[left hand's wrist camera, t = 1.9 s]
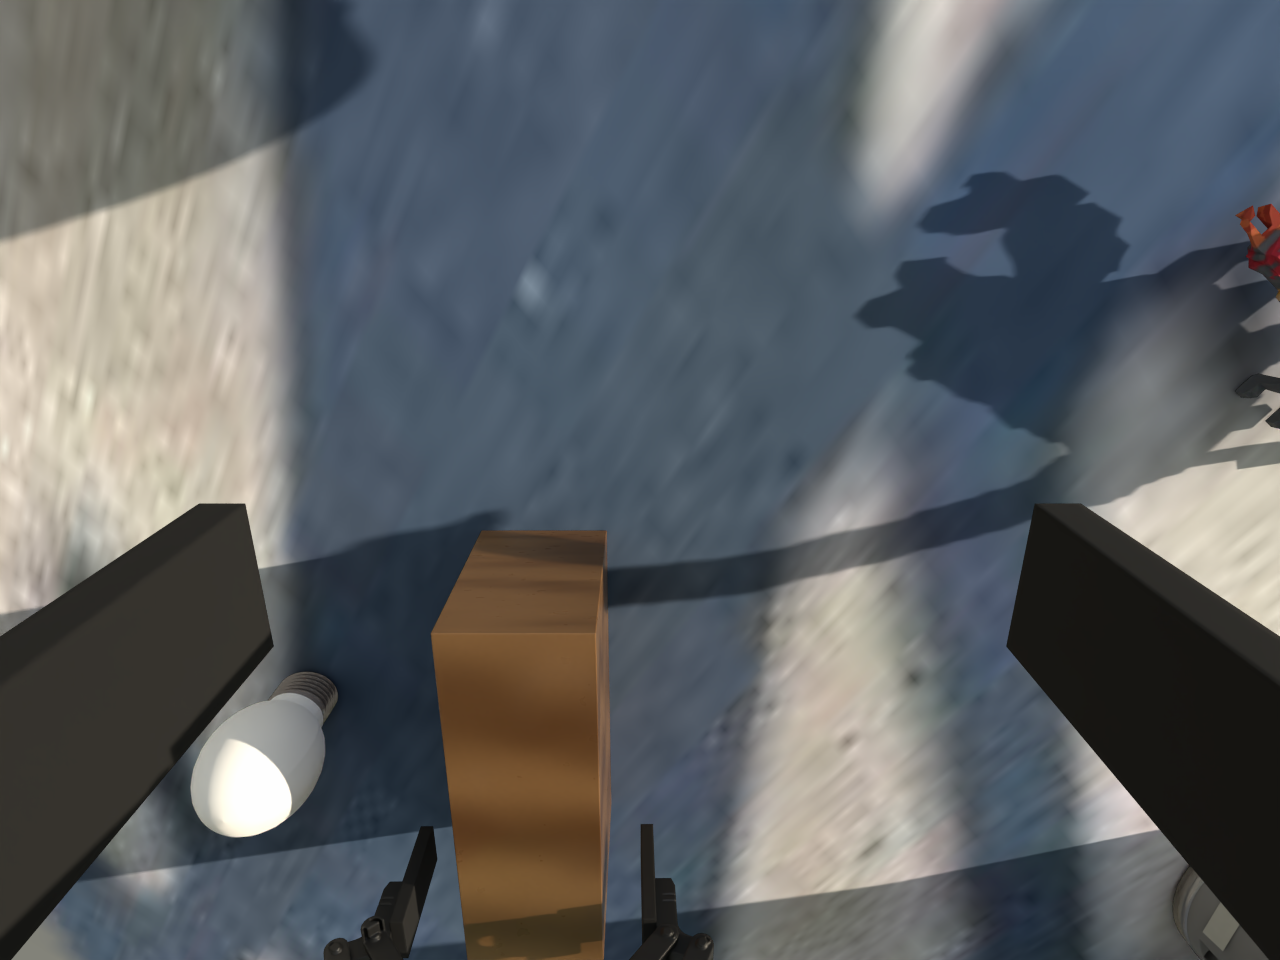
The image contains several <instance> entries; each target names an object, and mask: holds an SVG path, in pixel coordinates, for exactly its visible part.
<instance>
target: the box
mask: <svg viewBox="0 0 1280 960" xmlns="http://www.w3.org/2000/svg"><path fill="white" fill-rule="evenodd" d="M431 640H432V649H433V658H434V667H435V676H436V685H437V694H438V703H439V711H440V720H441V729H442V738H443V747H444V756H445V765H446V774H447V783H448V791H449V800H450V809H451V818H452V827H453V836H454V845H455V854H456V862H457V871H458V880H459V889H460V898H461V907H462V916H463V925H464V933H465V942H466V951H467V960H603V959H604V941H605V920H606V900H607V879H608V858H609V837H610V817H611V764H610V704H609V644H608V583H607V531H481V533H480V535H479V537H478V539H477V541H476V543H475V545H474V547H473V549H472V551H471V553H470V555H469V557H468V559H467V561H466V563H465V565H464V567H463V569H462V571H461V573H460V575H459V577H458V579H457V581H456V583H455V586H454V588H453V590H452V592H451V594H450V596H449V598H448V600H447V602H446V604H445V606H444V608H443V610H442V612H441V614H440V616H439V618H438V620H437V622H436V624H435V626H434V628H433V630H432V632H431Z"/></svg>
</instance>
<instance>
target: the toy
mask: <svg viewBox="0 0 1280 960" xmlns="http://www.w3.org/2000/svg"><path fill="white" fill-rule="evenodd" d="M1235 216H1237V217H1239V218H1240V219H1242V220H1241V223H1240V225H1241V226H1242V227H1243V229H1244V230H1245V231H1246V233H1247V234H1248V236H1249V239H1250V242H1251V245H1250V246H1249V247H1248V254H1247V255H1246V257H1248V258H1249V268H1250V269H1253V270H1255V271H1257V272H1259V273H1261V274H1263V275H1264V276H1265V277H1266V278H1267V279H1268V280H1269V281H1270V282H1271V283H1272V285H1273V286H1274V287H1275V288H1276V289H1277V290H1278V291H1279V292H1278V294H1277V296H1276V298H1277V299H1278V301H1279V302H1280V213H1279V212H1278V211H1277V210H1276V209H1275V208H1274V206H1273V205H1272V204H1269V205H1265V206H1262V207H1258V212H1257V217H1258V218H1259V219H1260V220H1261V222H1262V223H1263V224H1264V225H1265V226H1266V227H1267V228H1268V229H1267V230H1266V231H1265V232H1264V233H1263V234H1262V235H1261V234H1260V233H1259V231H1258V230H1257V229H1256V228H1255V227H1254V226H1253V224H1252V223H1251V222H1250V221H1251V220H1252V218H1253V217H1254V216H1255V213H1254V208H1253V206H1251V207H1249V208H1247V209H1246V210H1244V211H1242V212H1240V213H1239V214H1237V215H1235ZM1265 389H1267V390H1270V391H1274V392H1277V393H1280V378H1276V377H1271V376H1267V375H1262V374H1257V375H1253V376H1251V377H1250V378H1249V379H1248V380H1247V381H1246V382H1244V383H1243V384H1242V385H1241V386H1240V387H1239V388H1238V389H1237V390H1236V391H1235V392H1236V393H1237V394H1238V395H1239V396H1240V397H1244V398H1254V397H1258V396H1259V395H1260V394H1261V393H1262V392H1263V391H1264V390H1265ZM1266 422H1267V423H1268V424H1269V425H1270V426H1271V427H1274V428H1278V429H1280V408H1279V409H1278V410H1277V411H1276V412H1274V413H1273V414H1272V415H1271V416H1270V417H1269V418H1268V419H1267V420H1266Z"/></svg>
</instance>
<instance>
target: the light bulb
mask: <svg viewBox="0 0 1280 960" xmlns="http://www.w3.org/2000/svg"><path fill="white" fill-rule="evenodd" d="M337 699H338V692H337V689H336V687H335V685H334V684H333V683H332V682H331V681H330V680H329V679H328V678H326V677H325V676H323V675H320V674H317V673H313V672H300V673H295V674H292V675H290V676H288V677H287V678H285V679H284V680H283V681H282V682H281V684H280V685H279V686H278V688H277V689H276V690H275V692H274V693H273V694H272V696H271V697H270V698H269V699H268V701H263V702H259V703H255V704H253V705H251V706H248V707H246V708H244V709H242V710H240V711H238V712H237V713H235V714H234V715H233V716H231V717H230V718H228V719H227V720H226V721H225V722H223V723H222V724H221V725H220V726H219V727H218V728H217V729H216V730H215V731H214V732H213V734H212V735H211V736H210V738H209V739H208V740H207V742H206V743H205V745H204V746H203V748H202V749H201V752H200V754H199V756H198V759H197V761H196V764H195V766H194V769H193V774H192V779H191V797H192V804H193V806H194V809H195V811H196V813H197V815H198V817H199V818H200V820H201V821H202V822H203V823H204V824H205V825H206V826H207V827H208V828H209V829H211V830H212V831H214V832H216V833H219V834H221V835H224V836H229V837H245V836H253V835H257V834H260V833H262V832H265V831H267V830H270V829H272V828H274V827H276V826H277V825H279V824H280V823H282V822H283V821H285V820H286V819H287V818H289V817H290V816H292V815H293V814H294V813H295V812H296V811H297V810H298V809H299V808H300V807H301V805H302V804H303V803H304V802H305V801H306V799H307V798H308V797H309V795H310V794H311V792H312V791H313V789H314V787H315V785H316V783H317V781H318V778H319V776H320V774H321V772H322V767H323V763H324V758H325V738H324V734H323V731H322V726H323V724H324V722H325V721H326V719H327V717H328V716H329V714H330V713H331V711H332V709H333V708H334V706H335V704H336V703H337Z"/></svg>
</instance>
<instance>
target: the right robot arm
mask: <svg viewBox="0 0 1280 960" xmlns="http://www.w3.org/2000/svg"><path fill="white" fill-rule="evenodd" d="M436 862H437V853H436V845H435V837H434V829H433V826H421V828H420V831H419V834H418V837H417V840H416V843H415V846H414V849H413V852H412V855H411V858H410V861H409V864H408V867H407V870H406V872H405V875H404V878H403V881H402V882H389V884H388V885H387V886H386V887H385V889H384V890H383V893H382V896H381V899H380V902H379V905H378V907H377V910H376V913H375V915H374V916H372V917H370V918H368V919H367V920H365V921H364V923H363V924H362V926H361V934H362V937H361V938H359V939H356V940H353V941H350V942H347V940H345V939H344V938H337V939H334V940H332V941H330V942H329V943H328V944H327V945H326V947H325V949H324V960H403V958H408V957H409V954H410V951H411V947H412V944H413V940H414V937H415V934H416V930H417V927H418V923H419V920H420V917H421V913H422V910H423V906H424V903H425V899H426V896H427V893H428V889H429V886H430V882H431V879H432V876H433V872H434V869H435V865H436ZM641 899H642V946H641V947H640V948H639V949H638V950H637V951H636V952H635V954H634V955H633V956H632V957H631V958H630V959H629V960H713V949H714V943H713V940H712V939H711V937H710V936H708V935H707V934H704V933H699V934H696V935H694V936H693V937H692V936H689V935H687V934H685V933H683V932H682V931H681V930H680V929H679V927H678V923H677V909H676V895H675V885H674V883H673V881H672V879H671V878H655V867H654V840H653V824H641ZM1173 914H1174V920H1175V923H1176V926H1177V928H1178V930H1179V932H1180V933H1181V935H1182V936H1183V938H1184V939H1185V940H1186V942H1187V943H1188V944H1189V946H1190V947H1191V948H1192V950H1193V951H1194V952H1195V953H1196V955H1197V956H1198V957H1199V958H1200V959H1201V960H1269V959H1268V958H1267V957H1266V956H1265V955H1264V953H1263V952H1262V951H1261V950H1260V949H1259V947H1258V946H1257V945H1256V944H1255V943H1254V941H1253V940H1252V939H1251V938H1250V937H1249V935H1248V934H1247V933H1246V932H1245V931H1244V929H1243V928H1242V927H1241V926H1240V925H1239V924H1238V922H1237V921H1236V920H1235V919H1234V918H1233V916H1232V915H1231V914H1230V913H1229V912H1228V910H1227V909H1226V908H1225V907H1224V906H1223V904H1222V903H1221V902H1220V901H1219V900H1218V898H1217V897H1216V896H1215V895H1214V894H1213V892H1212V891H1211V890H1210V889H1209V888H1208V887H1207V885H1206V884H1205V883H1204V882H1203V881H1202V879H1201V878H1200V877H1199V876H1198V875H1197V873H1196V872H1195V871H1194V870H1193V869H1192V867H1191V866H1190V867H1189V868H1188V869H1187V871H1186V872H1185V874H1184V875H1183V877H1182V879H1181V880H1180V882H1179V885H1178V887H1177V889H1176V893H1175V896H1174V902H1173Z"/></svg>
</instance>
